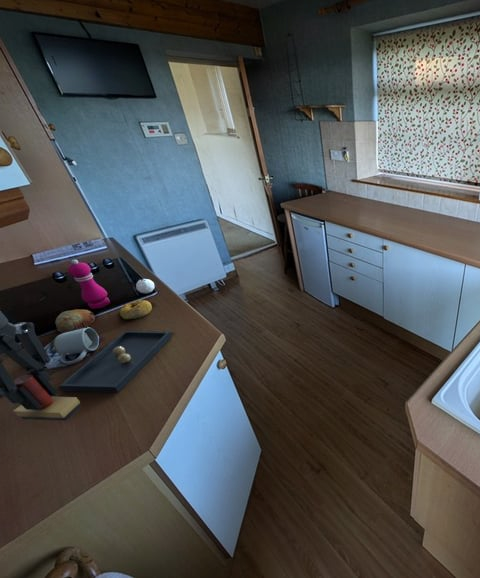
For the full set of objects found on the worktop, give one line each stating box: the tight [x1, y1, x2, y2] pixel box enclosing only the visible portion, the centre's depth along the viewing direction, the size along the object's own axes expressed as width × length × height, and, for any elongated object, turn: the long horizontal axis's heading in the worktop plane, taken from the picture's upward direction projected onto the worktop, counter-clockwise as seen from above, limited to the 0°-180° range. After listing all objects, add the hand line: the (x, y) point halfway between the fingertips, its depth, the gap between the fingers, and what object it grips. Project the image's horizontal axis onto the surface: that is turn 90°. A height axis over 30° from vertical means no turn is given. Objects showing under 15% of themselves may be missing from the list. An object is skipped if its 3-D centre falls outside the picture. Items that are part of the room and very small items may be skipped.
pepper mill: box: [67, 259, 111, 310], centre depth 112 cm, size 7×7×20 cm
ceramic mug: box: [52, 326, 100, 365], centre depth 92 cm, size 11×8×8 cm
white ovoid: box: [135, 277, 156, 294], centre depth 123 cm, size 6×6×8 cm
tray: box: [59, 330, 173, 393], centre depth 91 cm, size 16×24×2 cm, turn 179°
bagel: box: [119, 299, 153, 320], centre depth 112 cm, size 10×11×5 cm
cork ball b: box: [118, 353, 131, 363], centre depth 90 cm, size 3×3×3 cm
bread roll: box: [54, 308, 96, 334], centre depth 105 cm, size 10×10×8 cm
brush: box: [12, 373, 82, 421], centre depth 63 cm, size 10×4×11 cm, turn 89°
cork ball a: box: [113, 346, 125, 356], centre depth 92 cm, size 3×3×3 cm
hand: (42, 401), depth 64 cm, fingers closed on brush, 3 cm apart
